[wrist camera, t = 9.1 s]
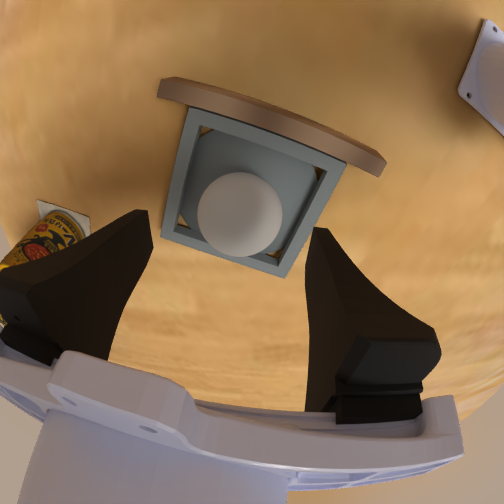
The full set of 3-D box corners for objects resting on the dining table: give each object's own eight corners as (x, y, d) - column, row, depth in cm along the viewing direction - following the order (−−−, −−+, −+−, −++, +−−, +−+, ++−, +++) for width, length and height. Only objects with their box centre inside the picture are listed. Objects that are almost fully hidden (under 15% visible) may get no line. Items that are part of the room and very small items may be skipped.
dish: (343, 157, 19) (347, 164, 18) (284, 268, 26) (284, 278, 25) (195, 104, 18) (189, 107, 17) (165, 228, 24) (160, 237, 23)
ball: (283, 160, 19) (283, 195, 15) (281, 228, 23) (280, 276, 18) (204, 161, 20) (180, 195, 16) (211, 226, 23) (194, 272, 19)
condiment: (90, 216, 25) (15, 305, 15) (94, 277, 30) (43, 360, 20) (38, 198, 24) (-36, 271, 14) (47, 257, 29) (-7, 329, 19)
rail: (376, 150, 18) (387, 162, 16) (369, 164, 19) (378, 177, 17) (175, 76, 17) (161, 79, 15) (170, 92, 17) (156, 96, 15)
